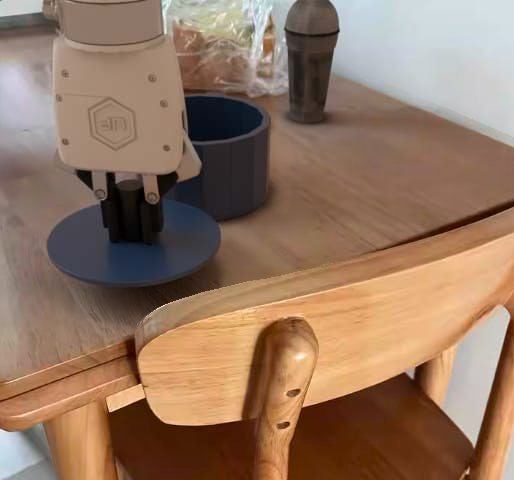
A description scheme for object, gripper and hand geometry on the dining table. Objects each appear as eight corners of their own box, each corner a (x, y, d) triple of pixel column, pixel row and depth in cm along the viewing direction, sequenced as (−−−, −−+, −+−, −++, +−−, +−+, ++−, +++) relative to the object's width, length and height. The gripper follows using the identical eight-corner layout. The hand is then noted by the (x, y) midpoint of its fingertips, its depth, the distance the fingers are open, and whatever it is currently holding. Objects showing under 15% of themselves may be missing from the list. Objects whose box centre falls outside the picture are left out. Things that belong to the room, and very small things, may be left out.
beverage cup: (269, 115, 102) (274, -47, 89) (307, 104, 105) (317, -53, 93) (305, 130, 97) (315, -37, 85) (343, 118, 101) (358, -43, 89)
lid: (21, 286, 61) (7, 221, 58) (79, 202, 74) (71, 144, 70) (205, 300, 60) (202, 234, 56) (232, 213, 72) (232, 154, 69)
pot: (116, 228, 75) (107, 149, 70) (159, 151, 91) (155, 82, 86) (256, 239, 74) (258, 159, 69) (276, 159, 90) (278, 89, 84)
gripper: (-11, 27, 53) (34, 250, 64) (210, 37, 51) (216, 264, 62) (27, 3, 59) (62, 211, 70) (226, 11, 57) (229, 222, 68)
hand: (134, 234), depth 66 cm, fingers closed on lid, 2 cm apart
